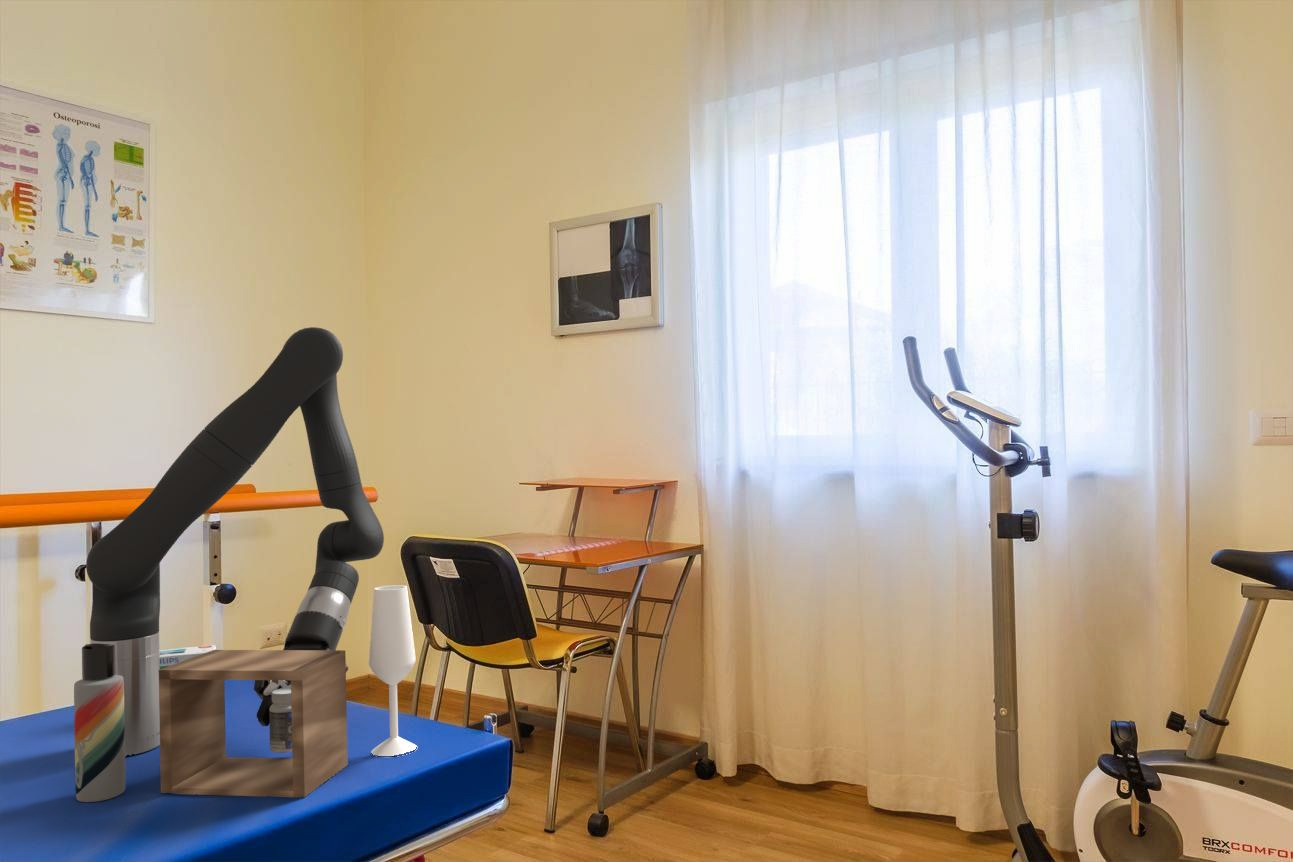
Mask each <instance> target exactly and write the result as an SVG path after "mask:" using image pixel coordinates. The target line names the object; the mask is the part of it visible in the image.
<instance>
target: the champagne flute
mask: <svg viewBox="0 0 1293 862" xmlns="http://www.w3.org/2000/svg"><path fill="white" fill-rule="evenodd" d="M410 608H411V607H410V601H409V593H408V586H407V585H405V584H404V585H402V584H400V585H399V584H396V585H394V584H393V585H390V584H389V585H382V586H377V587H374V588H373V601H372V616H371V628H370V642H369V644H370V645H369V654H368V655H369V658H368V665H369V666H368V667H369V669H370V670H371V672H372V673H373V674H374V675H375V676H377V678H379V680H380V681H382V682H383V683H384V684H387V685H388V703H389V704H388V707H389V710H388V711H389V737H388V738H387V739H385V740H384V741H382V742H381V743H380V744H378V745H376V746H375V747H374V748H373V749H371V751H370V753H372V754H373V755H372V754H371V755H372V756H374V755H378V756H394V755H399V754H404V753H406V752H410V751H413V750H415V749H416V747H417V748H418V746H417V745H416V744H415V743H413V742H411V741H408V740H407V739H404V738H402V737H401V736H399V719H398V718H399V717H398V716H399V715H398V714H399V713H398V708H399V707H398V684H399V683H401V682H402V681H403V680H404V679H405V678H406V676H408V675H409V673H411V671H412V670H413V668H414V666H415V664H416V659H417V657H416V652H415V651H416V650H415V649H416V648H415V642H414V641H415V640H414V635H413V627H412V625H413V624H412V616H411V609H410ZM416 750H417V749H416ZM416 750H415V751H416Z"/></svg>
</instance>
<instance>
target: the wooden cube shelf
mask: <svg viewBox="0 0 1293 862" xmlns="http://www.w3.org/2000/svg"><path fill="white" fill-rule="evenodd" d="M346 659H347V658H346V650H338V649H336V650H283V649H271V650H270V649H216V650H212V651H209V652H207V653H204V654H201V655H198V656H196V657H193V658H190V659H187V660H185V661H182V662H179V663H177V664H174V665H171V666H168V667H166V668H163V669H160V670H159V713H160V745H159V751H160V752H159V754H160V755H159V756H160V757H159V758H160V759H159V760H160V761H159V765H160V770H159V771H160V794H161V793H177V794H176V795H195V796H197V795H198V796H199V795H201V796H206V795H207V796H232V797H233V796H234V797H235V796H236V797H237V796H238V797H240V796H241V797H266V796H275V797H274V798H301V797H305V798H306V797H307V795H308V794H309V793H310V794H311V792H312V791H313V790H314V791H316V790H317V789H318V788H319V787H318V786H320V785H321V784H322V785H324V784H325V783H326V782H328V781H329V780H330V779H331V777H332V776H333V777H334V776H336V775H337V774H338V773H340V772H341V771H342V770H344V769H345V768H346V767H348V766H347V765H349V761H348V758H349V757H348V756H349V755H348V752H349V751H348V713H347V712H348V711H347V705H348V704H347V672H346V665H347V663H346ZM225 680H226V681H255V680H270V681H272V680H283V681H285V680H291V715H292V753H291V754H292V757H291V758H289V757H287V758H285V757H239V756H238V757H237V756H236V757H235V756H234V757H233V756H227V750H226V749H227V745H226V744H227V742H226V738H227V737H226V733H227V732H226V693H225V692H226V691H225V690H226V689H225V684H226V683H225ZM344 767H345V768H344ZM343 768H344V769H343ZM339 771H340V772H339ZM335 774H336V775H335ZM333 777H332V778H333ZM328 779H329V780H328ZM327 780H328V781H327ZM325 781H326V782H325ZM324 782H325V783H324ZM323 783H324V784H323ZM322 785H321V786H322ZM321 786H320V787H321ZM317 787H318V788H317ZM316 788H317V789H316ZM315 789H316V790H315ZM314 791H313V792H314ZM313 792H312V793H313ZM196 794H197V795H196ZM310 794H309V795H310ZM309 795H308V796H309Z"/></svg>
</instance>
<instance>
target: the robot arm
mask: <svg viewBox="0 0 1293 862" xmlns="http://www.w3.org/2000/svg"><path fill="white" fill-rule="evenodd" d="M343 359H344V351H343V347H342V343H341V342H340V340H339V338H338V337H337V336H336V335H335V334H334V333H332V332H331V331H330V330H327V329H325V328H322V327H314V326H313V327H312V326H311V327H304V328H301V329H299V330H297V331H295V332H294V333H292V334H291V335H290V336H289V337H288V339H287V340H286V341H285V343H284V345H283V346H282V349H281V350H280V352H279V353H278V355H277V356H276V357H275V359H274V360H273V361H272V362H271V364H270V365H269V366H268V368H267V369H266V370H265V371H264V373H263V374H262V375H261V376H260V377H259V378H258V380H257V381H256V382H254V384H253V385H252V386H250V388H248V389H247V390H246V391H244V392H243V394H241V395H240V396H238V397H237V398H236V399H235V400H234V401H231V403H230V404H228V406H227V407H226V408H224V409H223V410H222V411H221V412H219V414H218V415H216V417H213V419H212V420H211V421H210V422H209V423H208V424H206V426H205V427H204V428H203V429H202V430H201V431H200V432H199V433H198V434H197V435H196V436H195V438H194V439H193V440H191V441H190V442H189V443H188V445H187V446H186V447H185V448H184V450H183V451H182V452H181V453H180V454H179V455H178V457H177V458H176V459H175V461H174V462H173V463H172V464H171V465H170V467H169V468H168V469H167V471H166V472H165V473H164V475H163V476H162V477H161V479H160V480H159V481H158V483H157V484H156V485H155V487H154V488H153V489H152V491H151V492H150V494H148V496H147V497H146V498H145V499H144V500H143V501H142V502H141V503H140V504H139V505H138V506H137V507H136V508H135V509H134V510H133V511H132V512H131V513H129V514H128V516H126V517H125V518H124V519H123V520H122V521H121V522H119V524H117V525H116V526H115V527H113V529H111V530H109V532H108V533H106V534H105V535H104V536H102V537H101V538H99V540H98V539H97V541H96V542H95V543H94V544H93V545H92V546H91V548H90V550H89V552H88V554H87V557H86V561H85V562H86V563H85V568H86V573H87V577H88V579H89V580H90V582H91V584H92V588H91V589H92V593H91V594H92V597H91V598H92V601H91V602H92V604H91V615H90V621H89V641H90V643H89V644H110V645H115V663H116V674H115V675H120V676H122V677H123V678H124V714H125V757H126V756H127V755H129V756H133V755H132V754H134V755H137V754H141V753H145V752H149V751H151V750H154V749H156V748H157V747H158V746H159V747H160V713H159V670H160V651H159V650H160V615H161V614H160V613H161V570H160V569H161V561H163V559H164V557H166V555H167V553H168V552H169V551H170V550H171V548H172V547H173V546H174V545H175V543H176V542H177V540H178V539H179V538H180V537H181V536H182V535H183V534H184V532H185V531H186V530H187V529H188V528H189V527H190V526H191V525H193V523H194V522H195V521H197V519H199V518H200V517H201V516H202V515H204V514H205V513H206V512H208V510H209V509H211V507H213V506H214V505H215V504H216V503H217V502H219V500H221V499H222V498H223V497H224V496H225V495H226V494H227V493H228V492H229V491H230V490H231V489H232V488H233V487H235V485H236V484H237V483H238V482H239V481H240V480H241V479H242V478H243V477H244V476H245V474H246V473H247V472H248V471H249V470H250V469H251V468H252V467H253V466H254V465H255V463H257V460H259V458H260V457H261V456H262V455H263V453H264V452H265V451H266V450H267V448H268V447H269V446H270V445H271V444H272V442H273V441H274V439H275V438H276V436H277V435H278V434H279V433H280V431H281V430H282V428H283V427H284V426H285V423H287V421H288V420H289V419H290V417H291V416H292V415H293V414H294V413H295V411H297V410H298V408H299V407H300V411H301V414H302V418H303V421H304V426H305V429H306V437H307V441H308V448H309V451H310V452H309V453H310V457H311V463H312V468H313V475H314V479H315V483H316V487H317V491H318V495H319V496H318V497H319V500H320V504H321V505H322V506H323V507H324V508H326V509H330V510H331V509H332V510H339V511H341V512H343V514H344V515H345V517H346V519H345V520H341V521H334V522H331V523H329V524H327V525H326V526H325V527H324V528H323V529H322V530H321V532H320V533H319V535H318V537H317V542H316V543H317V545H316V548H317V549H316V557H315V569H314V575H313V577H312V580H311V582H310V585H309V587H308V589H307V591H306V593H305V595H304V597H303V599H302V600H301V602H300V604H299V606H298V609H297V611H296V613H295V616H294V618H293V621H292V622H291V625H290V628H289V630H288V633H287V635H286V638H285V641H284V646H283V649H282V650H337V647H338V645H339V642H340V639H341V637H342V634H343V631H344V630H345V629H344V628H345V626H346V624H347V621H348V618H349V617H348V616H349V611H350V608H351V604H352V601H353V599H354V596H355V594H356V590H357V588H358V585H359V580H360V575H359V572H358V570H357V569H356V568H355V567H354V566H353V565H351V564H349V563H351V562H357V561H365V560H370V559H374V558H376V557H377V556H378V555H379V554H380V553H381V551H382V550H383V547H384V541H385V535H384V530H383V527H382V525H381V522H380V521H379V518H378V517H377V515H376V513H375V511H374V510H373V508H372V505H371V503H370V502H369V499H368V496H367V495H366V493H365V492H364V489H363V484H362V480H361V474H360V470H359V466H358V461H357V457H356V453H355V451H354V450H355V449H354V447H353V445H352V441H351V438H350V435H349V432H348V430H347V427H346V423H345V420H344V418H343V413H342V410H341V404H340V400H339V393H338V379H337V377H338V376H337V373H338V372H339V371H340V369H341V367H342V364H343V361H344V360H343ZM348 562H349V563H348ZM348 670H349V667H348V665H347V664H346V673H347V672H348ZM288 687H291V680H254V685H253V691H254V692H255V693H256V695H257V696H258V697H259V698H260V699H261V703H260V705H259V707H258V710H257V713H256V718H257V722H258V723H259V724H260V725H261V726H262V727H268V726H270V724H269V708H270V706H271V705H272V704H273V702H272V692H273V691H274V690H277V689H281V688H288ZM127 757H128V756H127Z"/></svg>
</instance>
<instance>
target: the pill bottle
mask: <svg viewBox="0 0 1293 862" xmlns="http://www.w3.org/2000/svg"><path fill="white" fill-rule="evenodd" d="M272 702H273V704H272V705H271V706H270V708H269V749H270V750H269V751H271V752H272V753H276V754H286V753H291V752H292V715H291V687H288V688H281V689H277V690H274V691H273V692H272Z"/></svg>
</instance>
